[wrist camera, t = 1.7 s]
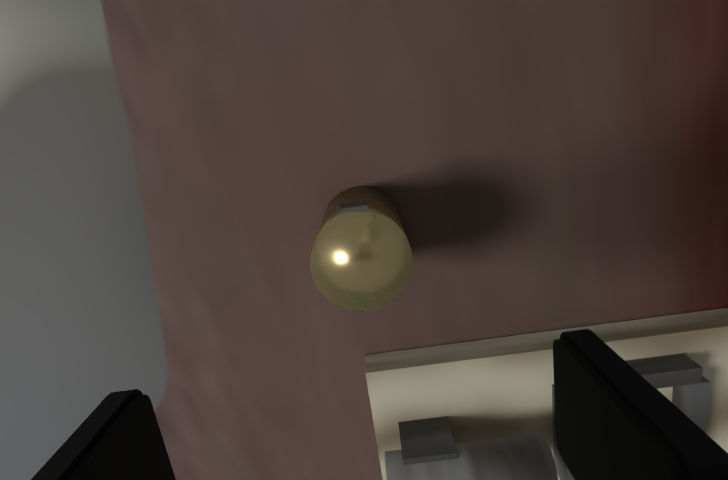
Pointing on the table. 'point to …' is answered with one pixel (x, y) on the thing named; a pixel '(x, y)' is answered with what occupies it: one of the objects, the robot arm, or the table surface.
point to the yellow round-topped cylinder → (361, 251)
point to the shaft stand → (529, 396)
